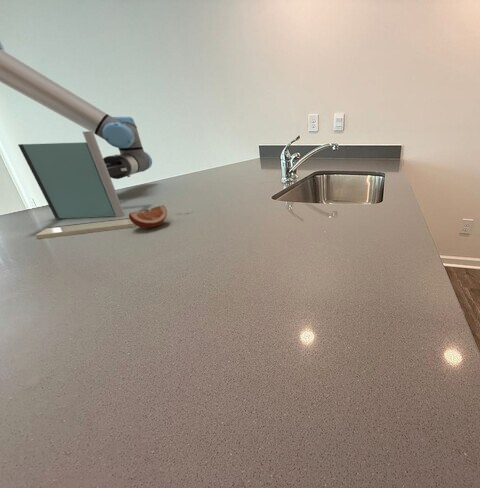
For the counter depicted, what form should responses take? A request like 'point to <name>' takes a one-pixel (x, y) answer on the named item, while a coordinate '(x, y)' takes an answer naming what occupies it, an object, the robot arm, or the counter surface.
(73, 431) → the counter surface
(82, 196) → the shower door
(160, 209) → the fruit slice
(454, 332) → the counter surface
